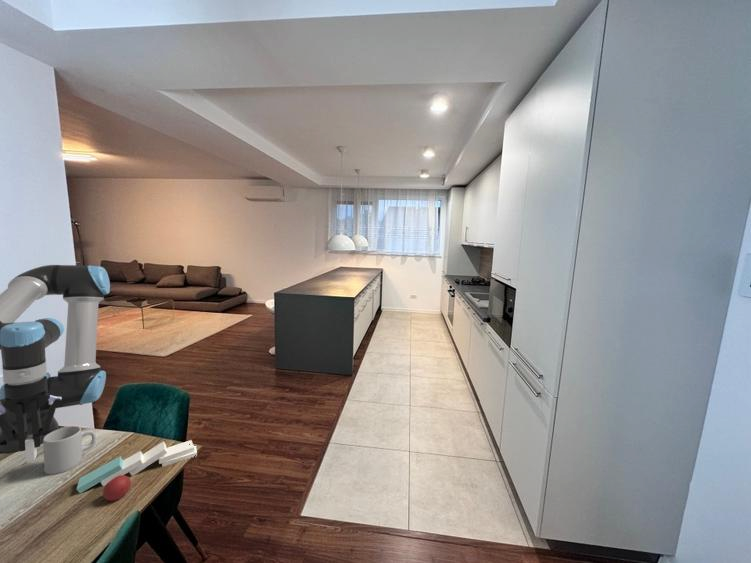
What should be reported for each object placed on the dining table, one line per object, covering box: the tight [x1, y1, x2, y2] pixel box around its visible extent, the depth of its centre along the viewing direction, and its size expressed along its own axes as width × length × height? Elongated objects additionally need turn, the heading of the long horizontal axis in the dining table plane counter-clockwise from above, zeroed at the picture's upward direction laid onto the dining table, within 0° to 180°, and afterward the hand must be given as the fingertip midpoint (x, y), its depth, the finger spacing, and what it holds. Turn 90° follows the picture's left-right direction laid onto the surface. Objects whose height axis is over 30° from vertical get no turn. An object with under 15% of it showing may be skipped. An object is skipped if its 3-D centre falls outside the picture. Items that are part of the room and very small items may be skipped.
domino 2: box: [100, 450, 144, 487], centre depth 93 cm, size 2×5×10 cm
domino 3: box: [128, 441, 168, 477], centre depth 97 cm, size 2×5×10 cm
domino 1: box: [76, 455, 124, 494], centre depth 90 cm, size 2×5×10 cm
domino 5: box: [161, 445, 198, 467], centre depth 102 cm, size 2×5×10 cm
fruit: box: [102, 474, 132, 502], centre depth 85 cm, size 6×6×8 cm
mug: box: [42, 425, 97, 476], centre depth 96 cm, size 12×8×11 cm
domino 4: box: [157, 439, 195, 465], centre depth 102 cm, size 2×5×10 cm
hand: (31, 458), depth 82 cm, fingers closed
